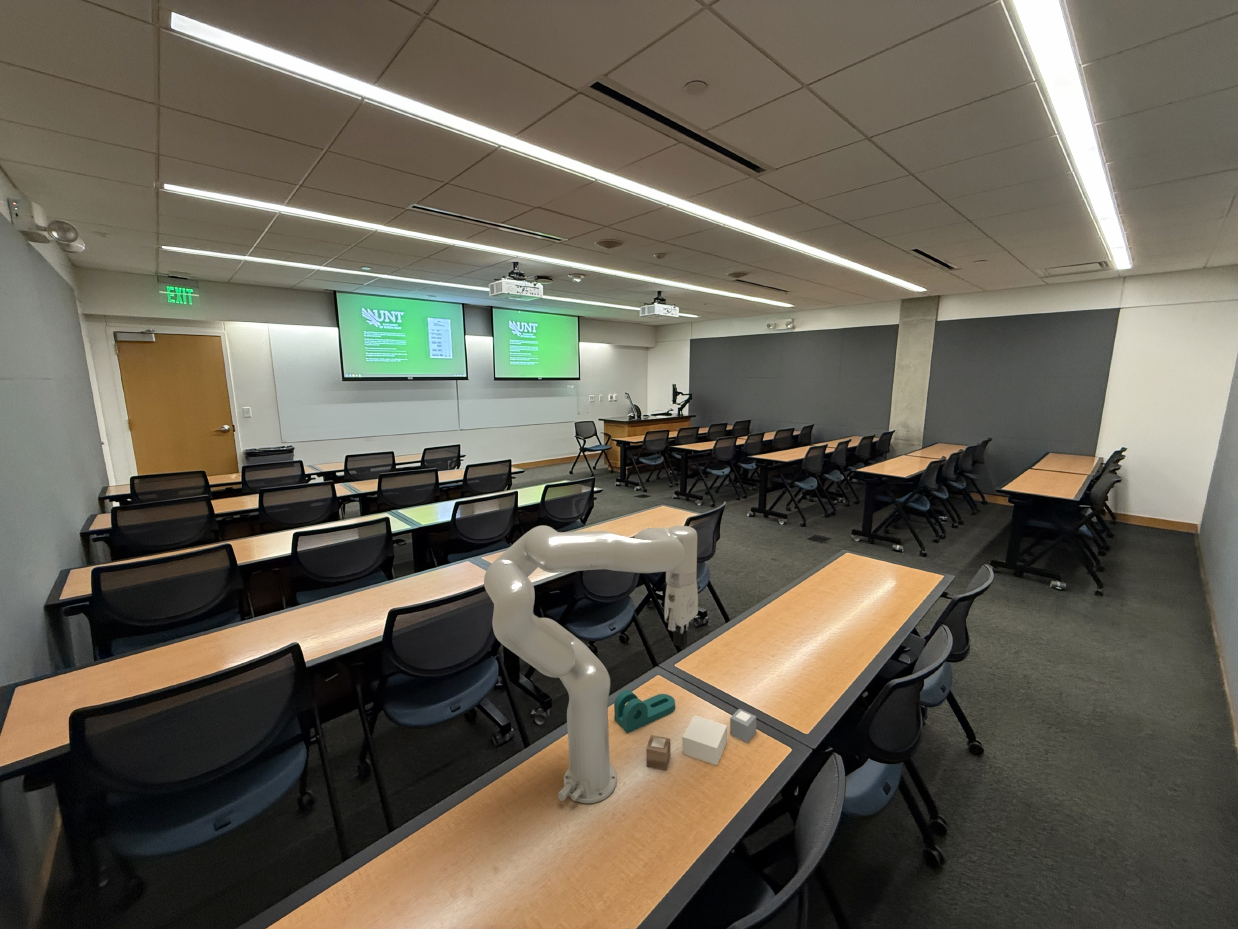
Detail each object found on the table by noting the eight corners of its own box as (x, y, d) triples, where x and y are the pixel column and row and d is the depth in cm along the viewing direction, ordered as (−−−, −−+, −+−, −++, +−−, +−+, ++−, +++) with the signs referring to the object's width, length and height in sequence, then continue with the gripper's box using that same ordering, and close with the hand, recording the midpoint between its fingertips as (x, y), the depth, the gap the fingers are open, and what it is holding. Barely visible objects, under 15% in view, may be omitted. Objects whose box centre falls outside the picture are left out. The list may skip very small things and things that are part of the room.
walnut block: (666, 771, 116) (666, 751, 116) (646, 767, 118) (646, 747, 117) (670, 756, 121) (670, 737, 120) (651, 752, 123) (651, 733, 122)
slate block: (747, 743, 125) (747, 725, 124) (730, 734, 128) (730, 716, 127) (756, 733, 128) (756, 715, 127) (739, 725, 132) (739, 707, 131)
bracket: (627, 734, 129) (626, 708, 128) (614, 720, 135) (613, 695, 134) (679, 710, 138) (679, 685, 137) (665, 698, 144) (665, 674, 143)
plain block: (716, 766, 118) (717, 748, 117) (682, 754, 122) (682, 736, 121) (727, 742, 125) (727, 725, 125) (694, 732, 130) (694, 715, 129)
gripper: (680, 589, 111) (679, 663, 113) (707, 570, 123) (706, 637, 125) (652, 582, 115) (652, 653, 117) (681, 564, 127) (680, 629, 130)
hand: (679, 645), depth 121 cm, fingers closed
